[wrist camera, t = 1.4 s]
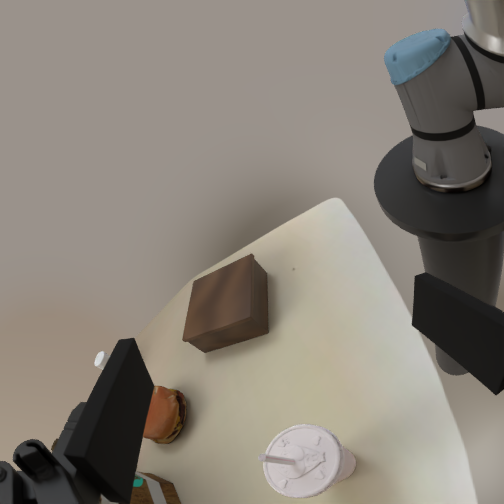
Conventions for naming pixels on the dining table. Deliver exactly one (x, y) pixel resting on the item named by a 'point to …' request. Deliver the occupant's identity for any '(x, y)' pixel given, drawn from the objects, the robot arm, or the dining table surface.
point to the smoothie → (306, 461)
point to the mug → (147, 490)
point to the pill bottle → (101, 359)
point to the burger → (165, 415)
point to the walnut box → (228, 306)
